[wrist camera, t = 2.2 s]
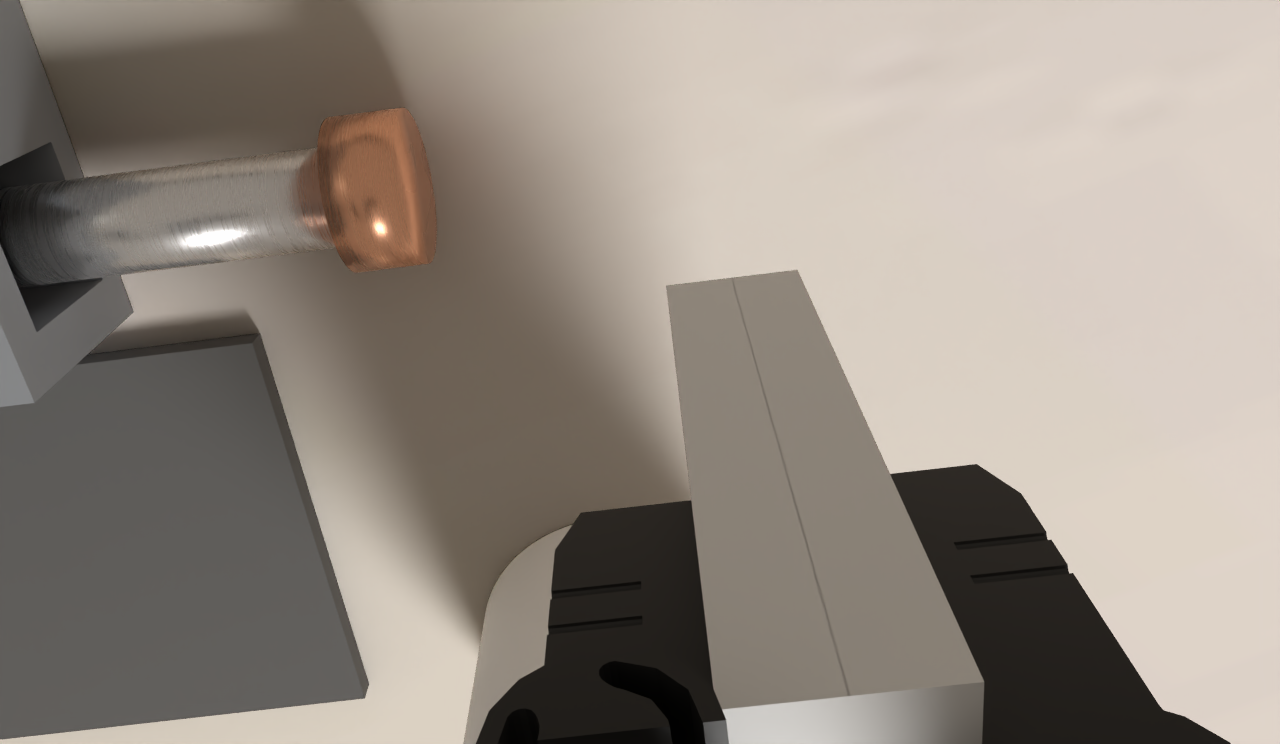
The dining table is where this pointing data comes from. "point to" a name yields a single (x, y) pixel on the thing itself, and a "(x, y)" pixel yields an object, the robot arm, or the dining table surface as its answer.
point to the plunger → (235, 209)
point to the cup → (513, 628)
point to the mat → (162, 548)
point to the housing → (3, 313)
